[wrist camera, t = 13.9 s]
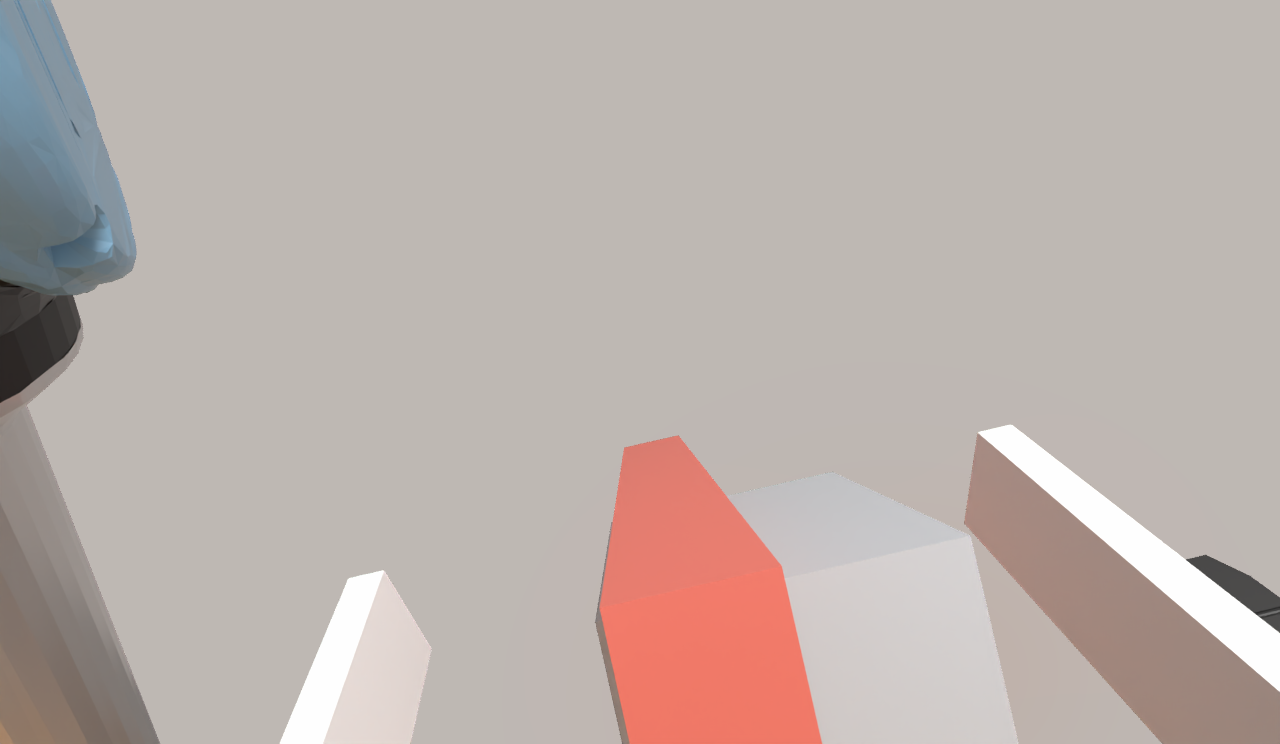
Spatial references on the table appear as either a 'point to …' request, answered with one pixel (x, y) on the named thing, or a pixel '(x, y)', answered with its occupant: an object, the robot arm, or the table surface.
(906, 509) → the breaker panel
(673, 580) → the bar
